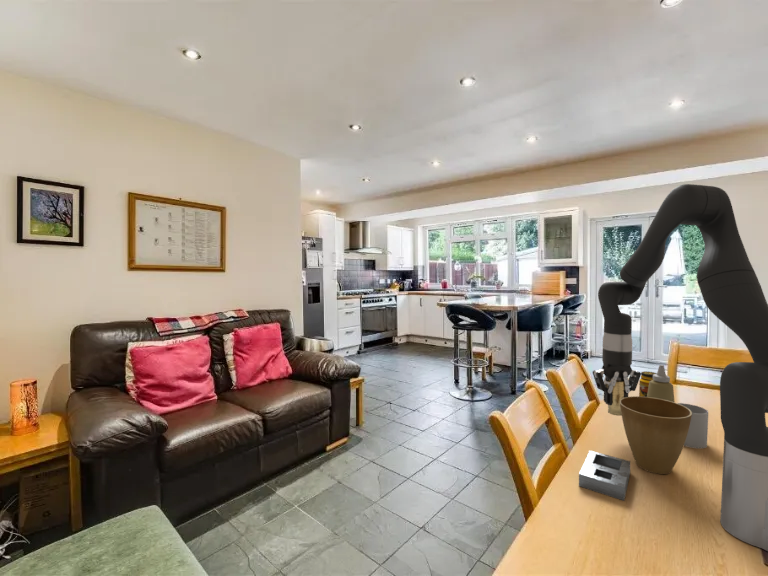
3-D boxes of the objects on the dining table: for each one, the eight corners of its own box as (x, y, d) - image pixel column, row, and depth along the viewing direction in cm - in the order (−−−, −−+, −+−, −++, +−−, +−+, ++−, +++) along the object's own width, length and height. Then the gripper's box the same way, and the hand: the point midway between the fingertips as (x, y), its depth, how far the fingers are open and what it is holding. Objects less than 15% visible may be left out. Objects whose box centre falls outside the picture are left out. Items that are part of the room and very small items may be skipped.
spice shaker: (626, 415, 110) (627, 377, 109) (615, 416, 109) (616, 378, 108) (615, 410, 114) (616, 374, 113) (604, 411, 113) (605, 375, 112)
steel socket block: (624, 500, 81) (624, 487, 81) (578, 486, 87) (579, 473, 86) (630, 472, 92) (630, 461, 92) (589, 461, 98) (589, 450, 97)
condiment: (640, 406, 136) (641, 374, 135) (633, 398, 144) (634, 368, 143) (664, 409, 133) (665, 376, 133) (656, 401, 141) (657, 370, 141)
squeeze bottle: (646, 410, 132) (648, 361, 131) (675, 416, 127) (677, 364, 126) (644, 417, 125) (646, 365, 124) (674, 424, 120) (676, 369, 119)
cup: (714, 449, 103) (715, 414, 103) (680, 447, 105) (681, 412, 104) (695, 436, 112) (696, 404, 111) (664, 434, 113) (665, 402, 113)
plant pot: (642, 448, 104) (644, 392, 104) (703, 475, 91) (706, 412, 90) (604, 458, 99) (606, 400, 98) (663, 488, 85) (666, 421, 84)
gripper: (601, 350, 106) (600, 409, 107) (649, 350, 107) (648, 408, 108) (586, 345, 114) (585, 400, 115) (631, 345, 114) (630, 399, 115)
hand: (615, 404), depth 111 cm, fingers closed on spice shaker, 4 cm apart
